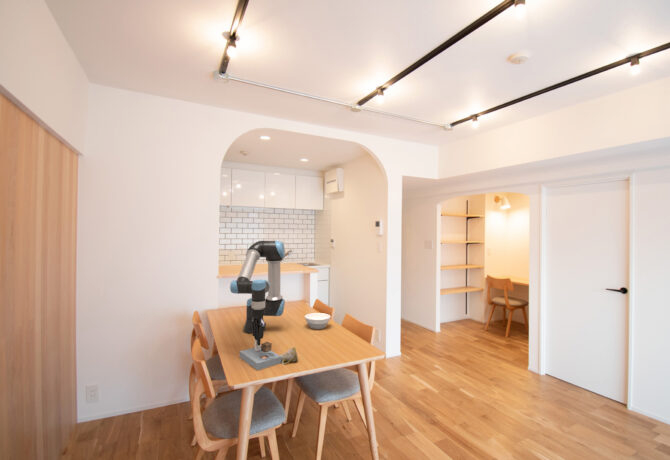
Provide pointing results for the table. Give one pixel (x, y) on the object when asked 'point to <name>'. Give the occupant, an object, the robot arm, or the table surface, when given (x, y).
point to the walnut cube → (266, 347)
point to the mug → (289, 356)
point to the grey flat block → (260, 358)
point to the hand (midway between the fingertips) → (257, 350)
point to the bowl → (317, 320)
